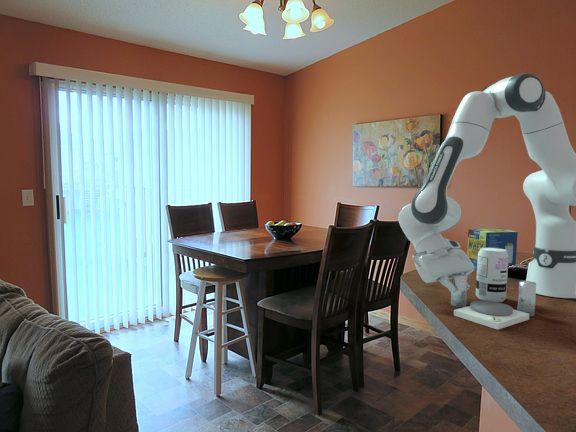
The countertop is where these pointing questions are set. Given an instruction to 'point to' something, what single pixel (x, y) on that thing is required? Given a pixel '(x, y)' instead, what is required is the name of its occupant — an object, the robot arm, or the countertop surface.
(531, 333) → the countertop surface
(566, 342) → the countertop surface
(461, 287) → the glossy grey rounded cylinder
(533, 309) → the cylinder
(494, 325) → the scale
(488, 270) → the supplement can
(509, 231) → the protein box
